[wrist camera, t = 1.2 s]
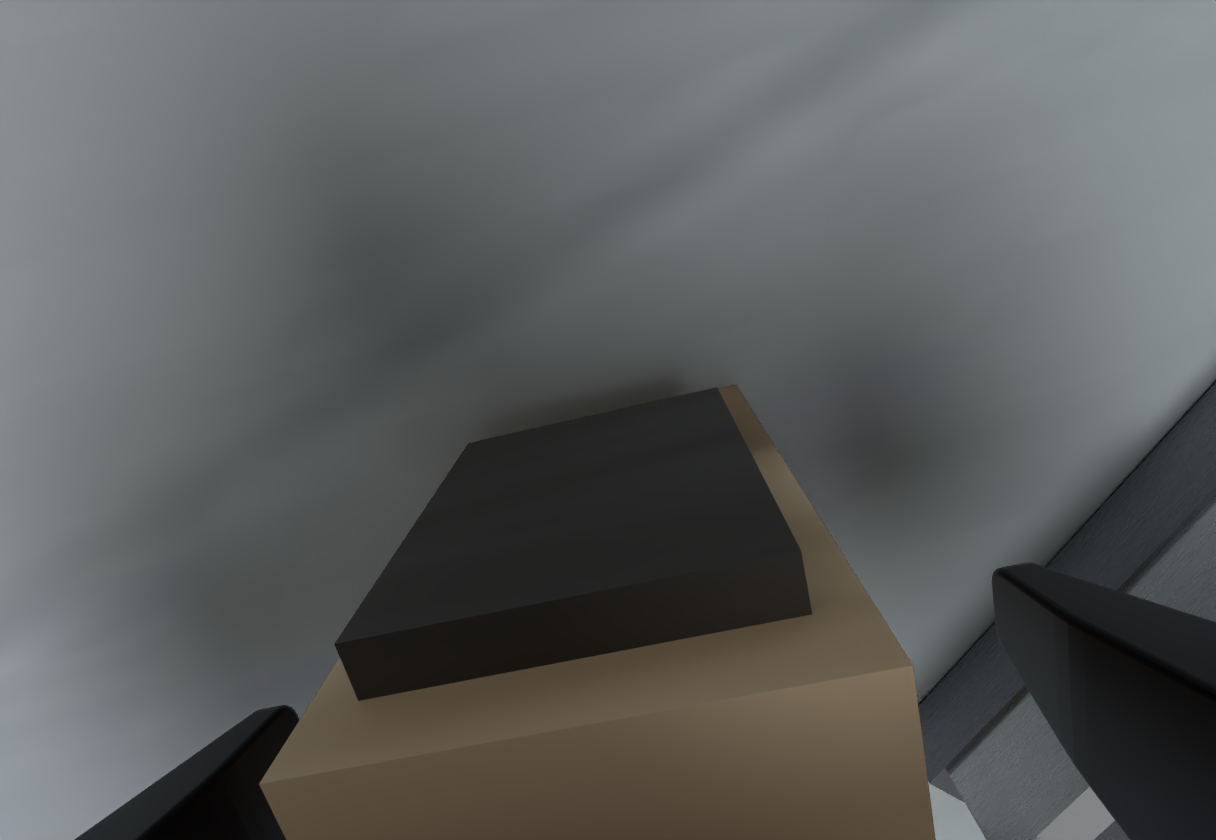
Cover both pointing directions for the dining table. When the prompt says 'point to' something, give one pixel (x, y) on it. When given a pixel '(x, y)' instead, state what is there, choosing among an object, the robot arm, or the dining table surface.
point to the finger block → (614, 655)
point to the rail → (996, 695)
